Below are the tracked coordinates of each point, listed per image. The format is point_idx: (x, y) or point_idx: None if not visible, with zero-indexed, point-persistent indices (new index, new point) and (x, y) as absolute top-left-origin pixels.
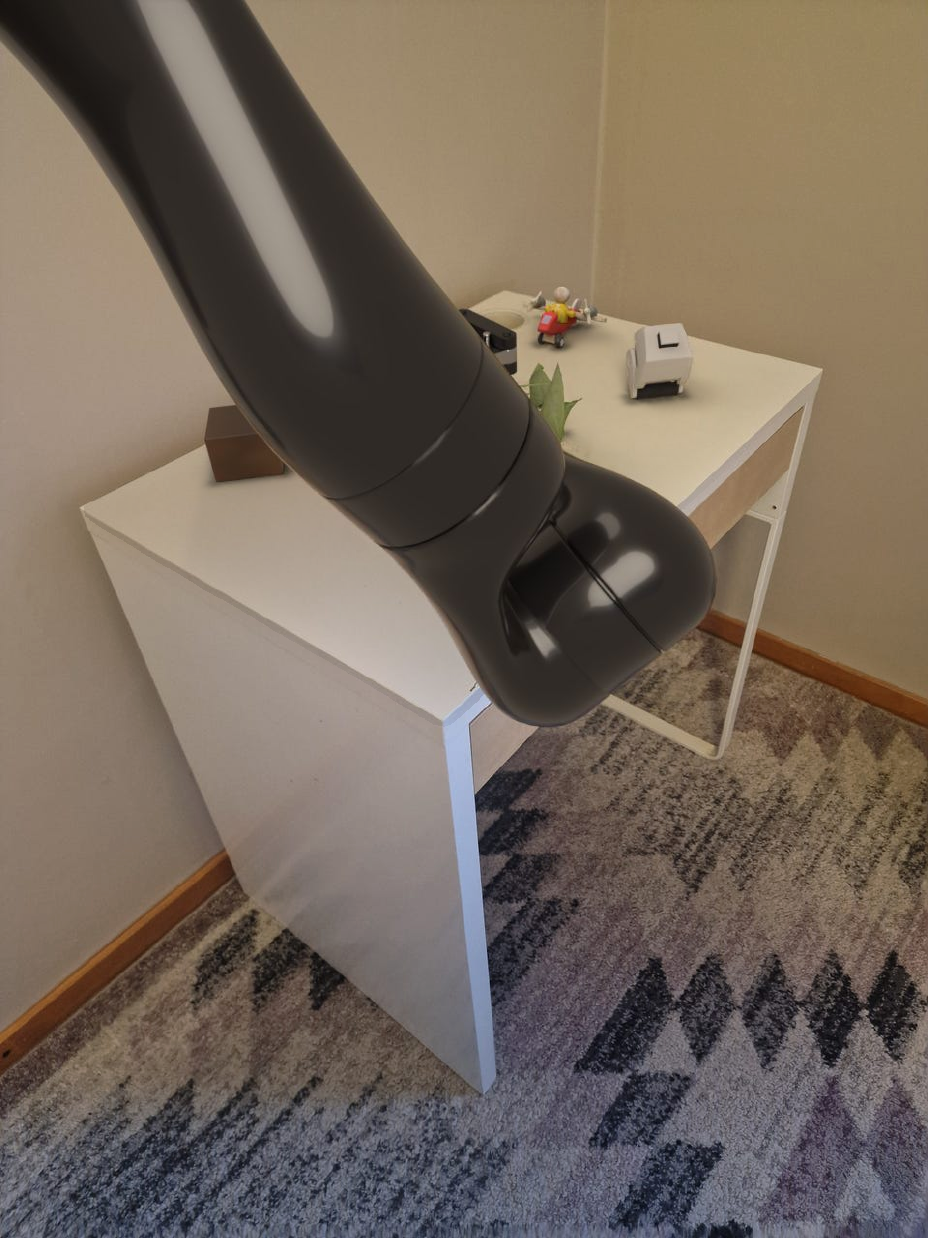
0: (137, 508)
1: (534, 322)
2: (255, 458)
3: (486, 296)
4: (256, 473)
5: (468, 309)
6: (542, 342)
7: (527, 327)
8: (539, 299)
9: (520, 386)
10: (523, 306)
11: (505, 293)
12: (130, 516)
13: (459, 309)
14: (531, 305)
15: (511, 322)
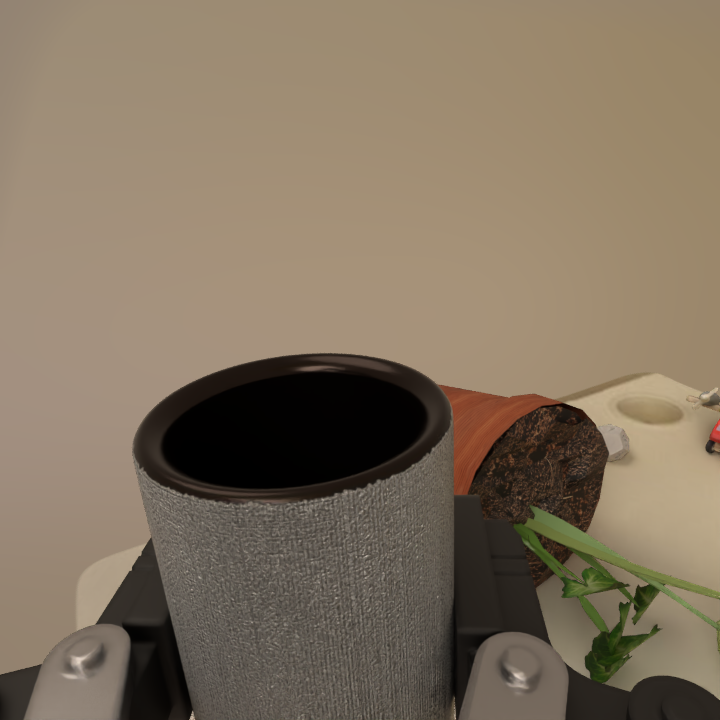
0: (118, 587)
1: (697, 419)
2: None
3: (634, 376)
4: None
5: (716, 699)
6: (712, 451)
7: (688, 424)
8: (713, 397)
9: (714, 594)
10: (687, 400)
11: (658, 376)
12: (101, 598)
13: (666, 696)
14: (700, 402)
15: (665, 414)
